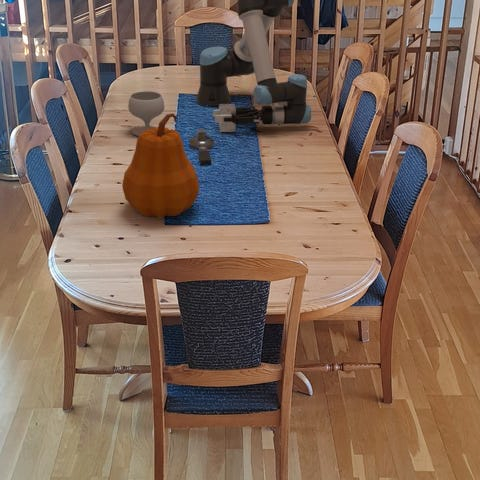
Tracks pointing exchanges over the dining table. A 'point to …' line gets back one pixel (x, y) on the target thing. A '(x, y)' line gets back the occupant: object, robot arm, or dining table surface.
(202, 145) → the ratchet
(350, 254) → the dining table surface
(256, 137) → the dining table surface
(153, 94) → the chalice
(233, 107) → the tall taupe upright block
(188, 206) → the decorative pumpkin
